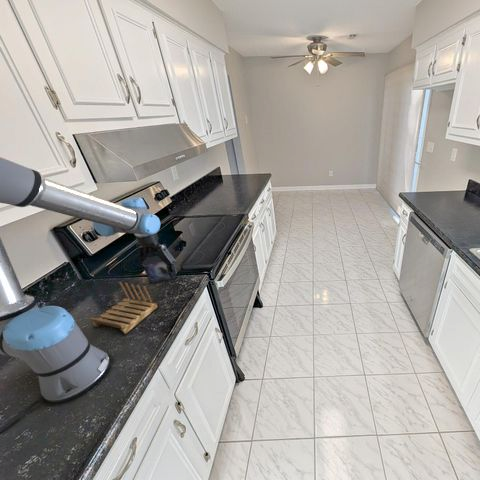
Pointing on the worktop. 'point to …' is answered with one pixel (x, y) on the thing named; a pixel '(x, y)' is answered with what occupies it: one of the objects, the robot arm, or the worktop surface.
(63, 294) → the worktop surface
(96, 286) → the worktop surface
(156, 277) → the small box
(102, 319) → the dish rack
